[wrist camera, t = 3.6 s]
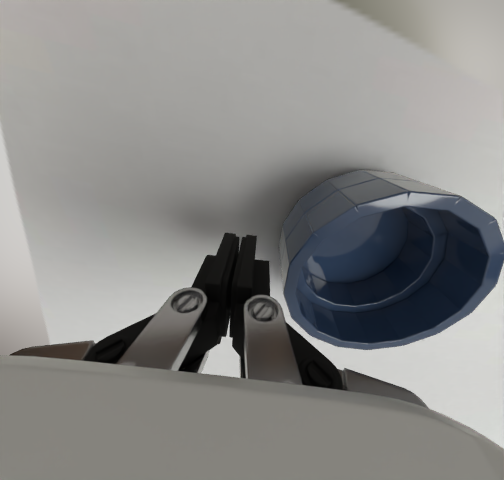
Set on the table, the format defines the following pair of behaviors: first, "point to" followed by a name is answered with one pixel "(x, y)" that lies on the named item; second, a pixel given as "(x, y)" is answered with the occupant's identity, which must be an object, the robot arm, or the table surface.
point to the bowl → (385, 260)
